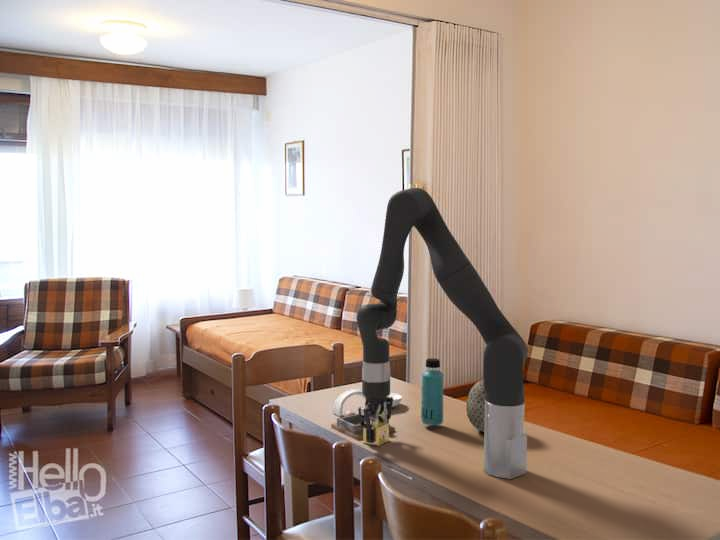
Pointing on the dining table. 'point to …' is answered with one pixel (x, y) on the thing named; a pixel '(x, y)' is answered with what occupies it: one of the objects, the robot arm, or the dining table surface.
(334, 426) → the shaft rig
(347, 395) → the spoon rest
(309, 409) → the dining table surface
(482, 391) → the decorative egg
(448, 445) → the dining table surface
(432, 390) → the beverage bottle
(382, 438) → the yellow cube
